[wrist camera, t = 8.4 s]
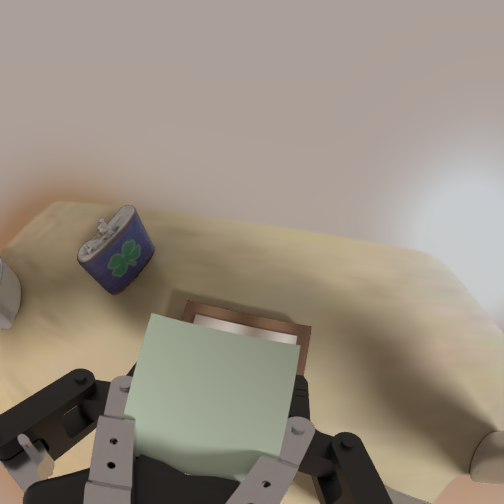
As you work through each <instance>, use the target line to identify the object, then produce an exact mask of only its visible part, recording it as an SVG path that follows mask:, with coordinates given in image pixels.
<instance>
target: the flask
mask: <svg viewBox="0 0 504 504" xmlns="http://www.w3.org/2000/svg"><path fill="white" fill-rule="evenodd" d="M98 222H100V224H99V225H98V226H97V227H98V228H97V229H98V232H97V233H96V236H94V237H93V238H92V239H91V240H89V241H88V242H87V243H84V244H83V245H82V247H81V248H80V249H79V251H78V255H77V261H78V262H79V264H80V265H81V266H82V267H83V268H84V269H85V270H86V271H87V272H88V273H89V274H90V275H91V276H92V277H93V278H94V279H95V280H96V281H97V282H98V283H99V284H100V285H101V286H102V287H103V288H104V289H105V290H107V291H108V292H109V293H111V294H113V295H115V294H118V293H119V292H121V291H123V290H124V289H125V288H126V287H127V286H129V284H130V283H132V281H134V279H135V278H136V277H137V276H138V274H139V273H140V272H141V271H142V269H143V268H144V267H145V265H146V264H147V263H148V262H149V260H150V259H151V258H152V256H153V254H154V245H153V243H152V242H151V240H150V238H149V236H148V234H147V232H146V230H145V228H144V226H143V224H142V222H141V220H140V218H139V216H138V214H137V211H136V209H135V208H134V207H133V206H130V205H127V206H126V205H125V206H123V207H122V208H121V209H120V210H119V211H118V212H117V213H116V214H115V216H114V217H113V218H112V219H111V220H110V221H109V223H108V224H107V223H106V222H104V218H101V219H100V220H97V223H98Z"/></svg>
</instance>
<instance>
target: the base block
mask: <svg viewBox="0 0 504 504" xmlns="http://www.w3.org/2000/svg"><path fill="white" fill-rule="evenodd" d="M182 321H184V322H188V323H192V324H196V325H200V326H204V327H208V328H213V329H217V330H221V331H226V332H231V333H235V334H240V335H245V336H250V337H255V338H260V339H266V340H271V341H277V342H283V343H289V344H295V345H301V346H300V353H299V359H298V365H297V371H296V375H304V370H305V364H306V358H307V353H308V346H309V340H310V334H311V326H305V325H300V324H294V323H289V322H284V321H279V320H274V319H269V318H264V317H259V316H254V315H250V314H245V313H240V312H236V311H231V310H227V309H223V308H218V307H214V306H210V305H206V304H202V303H198V302H194V301H190V300H188V302H187V305H186V308H185V311H184V314H183V318H182Z"/></svg>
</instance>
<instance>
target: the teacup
mask: <svg viewBox="0 0 504 504" xmlns="http://www.w3.org/2000/svg"><path fill="white" fill-rule="evenodd" d="M20 302H21V285H20V282H19V279H18V277H17V276H16V274H15V273H14V272H13V271H12V270H11V269H10V267H9V266H8V265H7V264H6V263H5V262H4V261H3V260H2V259H1V257H0V328H4V329H7V330H8V329H10V328H11V327H12V325H13V323H14V320H15V316H16V315H17V313H18V310H19V307H20Z"/></svg>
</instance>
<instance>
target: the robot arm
mask: <svg viewBox="0 0 504 504" xmlns="http://www.w3.org/2000/svg"><path fill="white" fill-rule="evenodd" d="M136 364H137V362H136ZM136 364H135V365H134V366H133V367H132V369H131V370H130V371H129V373H128V374H127V375H126V376H119V377H116V378H115V379H113V380H112V382H107V381H100V380H95V377H94V375H93V373H92V372H90V371H89V370H86V369H75V370H73V371H71V372H69V373H68V374H66V375H64V376H63V377H61V378H60V379H58V380H56V381H55V382H53V383H51V384H50V385H48V386H47V387H45V388H43V389H42V390H40V391H38V392H37V393H35V394H34V395H32V396H30V397H29V398H27V399H25V400H24V401H22V402H21V403H19V404H17V405H16V406H14V407H12V408H11V409H9V410H7V411H6V412H4V413H3V414H1V415H0V463H1V464H2V465H3V467H4V468H5V469H6V470H7V471H8V472H9V473H10V475H11V476H12V477H13V479H14V480H15V481H16V483H17V484H18V485H19V486H20V488H21V489H22V490H23V491H24V497H23V504H280V502H281V500H282V499H283V497H284V495H285V493H286V491H287V490H288V488H289V486H290V484H291V482H292V481H293V479H294V477H295V475H296V473H297V471H301V472H304V473H307V474H310V475H311V476H312V479H313V483H314V486H315V489H316V492H317V495H318V498H319V501H320V504H393V502H392V500H391V498H390V496H389V494H388V492H387V490H386V488H385V486H384V484H383V482H382V480H381V478H380V476H379V474H378V472H377V470H376V468H375V466H374V464H373V462H372V460H371V458H370V456H369V454H368V453H367V451H366V449H365V447H364V445H363V443H362V441H361V439H360V438H359V437H358V436H357V435H355V434H353V433H349V432H342V433H338V434H337V435H335V436H334V437H333V436H330V435H327V434H324V433H321V432H319V431H318V430H316V429H315V427H314V425H313V424H312V422H311V421H310V409H309V398H308V397H309V393H308V382H307V381H306V379H305V378H304V376H303V375H296V377H295V382H294V388H293V393H292V399H291V404H290V409H289V414H288V419H287V424H286V428H285V433H284V438H283V442H282V447H281V451H280V455H279V459H277V458H275V457H272V456H269V455H267V454H264V453H262V455H261V456H260V457H259V459H258V460H257V462H256V463H255V465H254V466H253V467H252V469H251V470H250V472H249V473H248V474H247V476H246V477H245V479H244V480H243V481H242V483H241V484H240V481H235V480H230V479H225V478H220V477H215V476H195V475H187V474H184V473H182V472H180V471H179V470H177V469H175V468H173V467H171V466H170V465H168V464H166V463H164V462H162V461H159V460H156V459H153V458H151V457H148V456H145V455H143V454H140V456H139V457H136V446H137V435H136V420H135V419H129V418H123V415H124V411H125V407H126V402H127V398H128V394H129V390H130V386H131V382H132V379H133V375H134V371H135V367H136ZM75 406H76V407H75ZM74 407H75V408H74ZM71 409H72V410H71ZM68 411H69V412H68ZM67 412H68V413H67ZM64 414H65V415H64ZM96 427H97V429H96V434H95V440H94V446H93V452H92V458H91V466H90V468H87V469H84V470H81V471H77V472H74V473H70V474H66V475H63V476H59V477H55V478H50V479H48V477H49V476H51V475H52V474H53V470H54V461H55V460H56V459H58V458H59V457H60V456H62V455H63V454H64V453H65V452H67V451H68V450H69V449H70V448H72V447H73V446H74V445H75V444H77V443H78V442H79V441H80V440H82V439H83V438H84V437H85V436H87V435H88V434H89V433H90V432H92V431H93V430H94V429H95V428H96ZM470 475H471V479H472V480H473V481H474V482H480V483H489V484H499V485H504V431H498V432H492V433H490V434H488V435H487V436H486V437H485V438H484V439H483V440H482V442H481V443H480V445H479V446H478V448H477V450H476V452H475V454H474V456H473V459H472V463H471V468H470Z"/></svg>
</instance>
